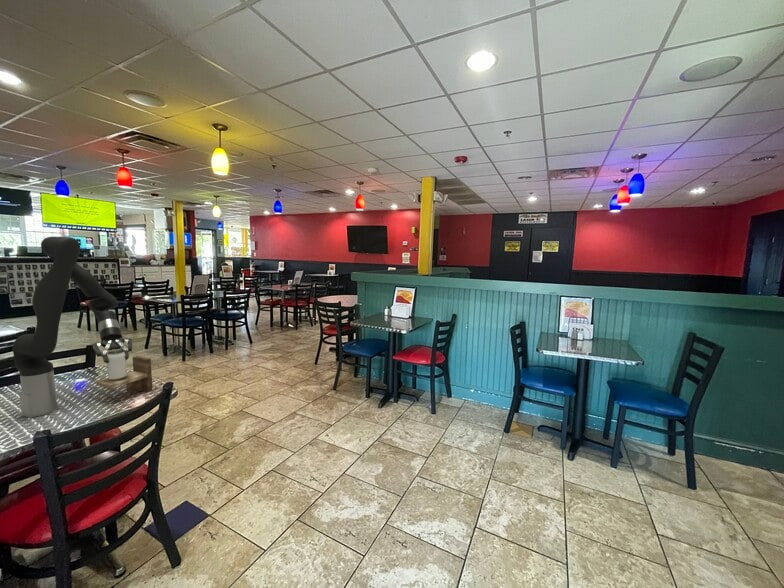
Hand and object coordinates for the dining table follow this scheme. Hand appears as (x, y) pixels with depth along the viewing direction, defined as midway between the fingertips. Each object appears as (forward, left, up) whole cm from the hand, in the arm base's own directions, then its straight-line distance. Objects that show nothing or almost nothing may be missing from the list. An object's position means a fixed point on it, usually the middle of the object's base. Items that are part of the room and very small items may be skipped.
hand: (117, 360), depth 143 cm
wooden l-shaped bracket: (+3, +1, -18) cm, 19 cm away
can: (+1, +2, -8) cm, 9 cm away
